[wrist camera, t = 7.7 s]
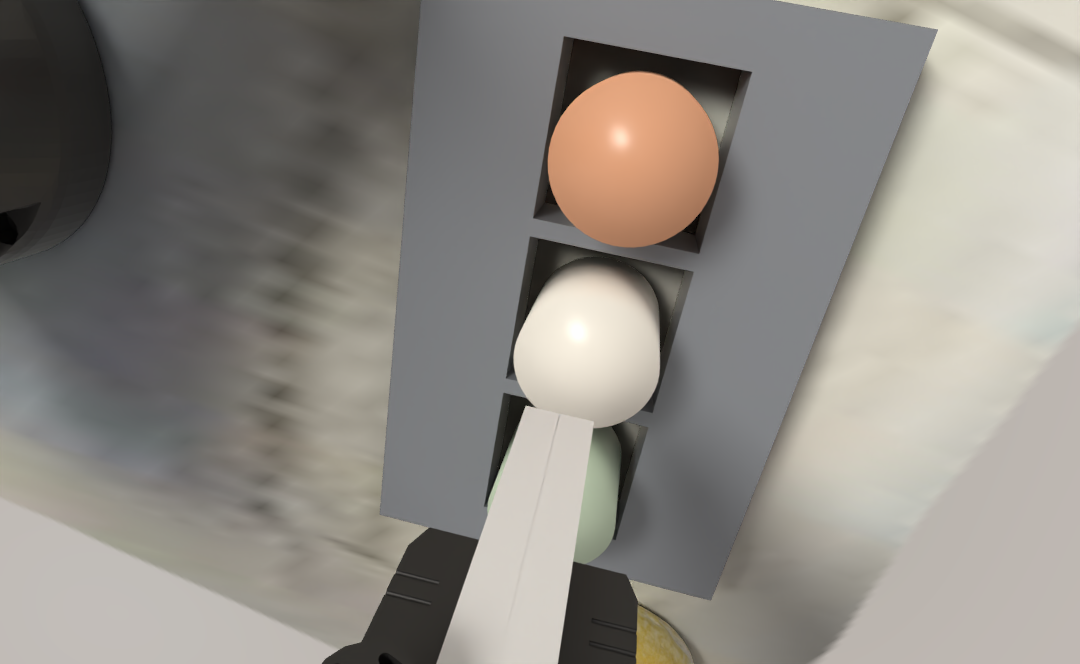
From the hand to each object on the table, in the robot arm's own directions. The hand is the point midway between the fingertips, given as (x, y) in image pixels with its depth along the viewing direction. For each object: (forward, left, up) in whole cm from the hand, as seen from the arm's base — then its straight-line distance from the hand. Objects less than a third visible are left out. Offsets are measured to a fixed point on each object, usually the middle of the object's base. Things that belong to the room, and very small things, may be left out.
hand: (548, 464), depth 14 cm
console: (0, 0, -11) cm, 11 cm away
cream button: (0, 0, -10) cm, 10 cm away
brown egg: (0, +6, -10) cm, 11 cm away
